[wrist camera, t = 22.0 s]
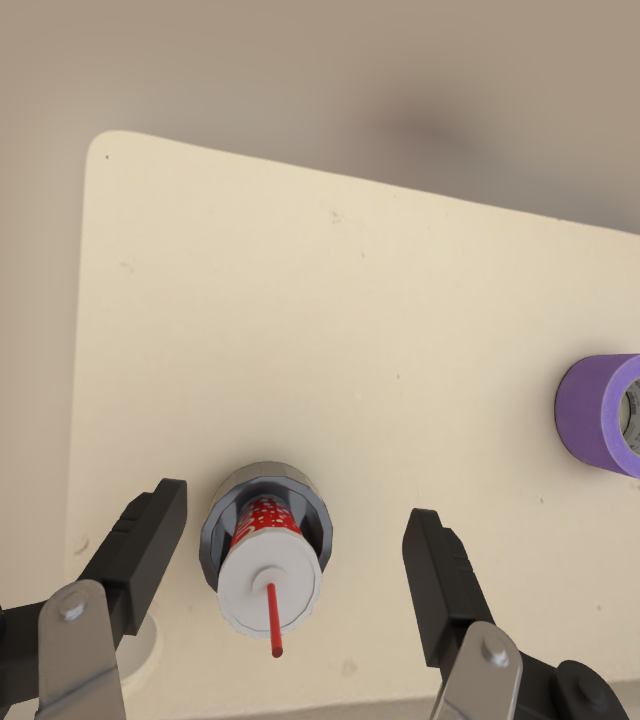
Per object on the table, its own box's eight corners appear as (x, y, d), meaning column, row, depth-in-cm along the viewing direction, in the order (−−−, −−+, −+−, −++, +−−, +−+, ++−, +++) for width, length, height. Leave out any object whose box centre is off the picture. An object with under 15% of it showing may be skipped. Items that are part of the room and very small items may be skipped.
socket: (228, 595, 29) (224, 634, 25) (191, 486, 29) (181, 506, 24) (334, 547, 31) (348, 576, 26) (301, 445, 31) (309, 457, 26)
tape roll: (632, 479, 37) (689, 495, 33) (542, 450, 35) (589, 462, 30) (654, 374, 39) (713, 374, 34) (568, 340, 37) (617, 335, 32)
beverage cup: (279, 470, 30) (305, 553, 16) (313, 532, 30) (366, 666, 16) (213, 510, 28) (178, 637, 15) (249, 574, 29) (248, 756, 15)
